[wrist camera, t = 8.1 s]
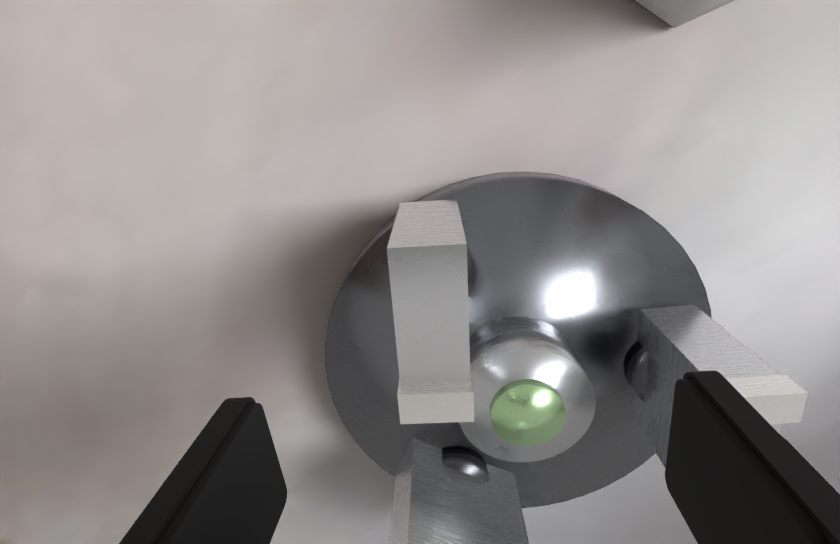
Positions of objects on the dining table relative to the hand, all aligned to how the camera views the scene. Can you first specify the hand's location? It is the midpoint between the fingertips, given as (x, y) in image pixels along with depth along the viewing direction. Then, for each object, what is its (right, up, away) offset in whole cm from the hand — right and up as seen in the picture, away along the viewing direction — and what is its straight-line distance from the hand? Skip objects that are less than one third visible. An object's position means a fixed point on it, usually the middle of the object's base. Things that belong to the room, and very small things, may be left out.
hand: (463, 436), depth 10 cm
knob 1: (+1, -7, +15) cm, 16 cm away
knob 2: (+11, 0, +12) cm, 16 cm away
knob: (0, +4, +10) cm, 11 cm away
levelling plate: (+4, 0, +14) cm, 14 cm away
